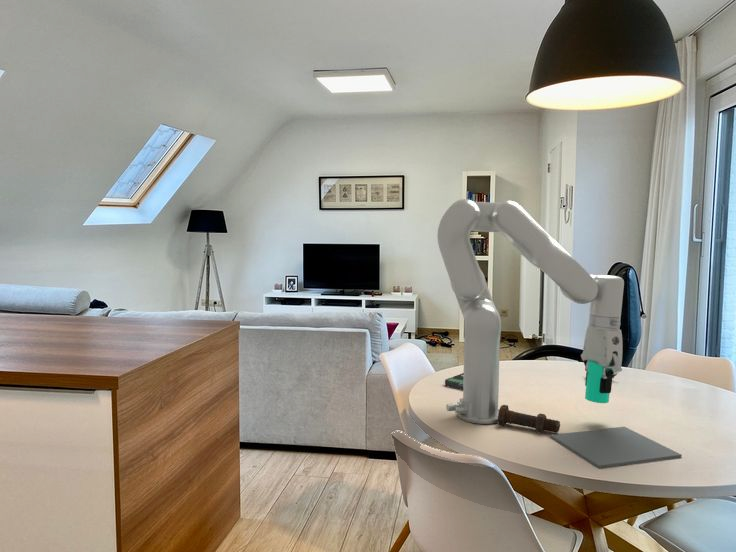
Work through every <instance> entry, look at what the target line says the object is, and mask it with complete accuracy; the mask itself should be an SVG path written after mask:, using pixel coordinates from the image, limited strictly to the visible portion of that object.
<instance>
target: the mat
mask: <svg viewBox="0 0 736 552" xmlns="http://www.w3.org/2000/svg"><path fill="white" fill-rule="evenodd" d="M549 436H550V438H551V439H553V440H554V441H556V442H557V443H558V444H560V445H562V446H564V447H565V448H566V449H568V450H570V451H571V452H573V453H574V454H576V455H577V456H579V457H581V458H582V459H584V460H586V461H587V462H588V463H590V464H592V465H594V466H595V467H596V468H597V469H604V468H605V469H606V468H612V467H618V466H626V465H632V464H641V463H649V462H656V461H663V460H670V459H678V458H682V456H683V455H682V454H681V453H679V452H677V451H676V450H673V449H671V448H669V447H667V446H664V445H663V444H661V443H659V442H657V441H655V440H653V439H650V438H649V437H646V436H645V435H642V434H641V433H638V432H636V431H634V430H632V429H630V428H628V427H625V426H617V427H609V428H599V429H591V430H583V431H582V430H580V431H574V432H565V433H554V434H550V435H549Z"/></svg>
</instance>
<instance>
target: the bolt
mask: <svg viewBox="0 0 736 552" xmlns="http://www.w3.org/2000/svg"><path fill="white" fill-rule="evenodd" d="M498 409H499V413H498V422H497V423H498V426H499V425H501V426H500V427H505V426H506V425H507V424H510V425H517V426H521V427H528V428H532V429H535V432H536V433H538V432H539V433H538V434H543V433H545V432H549V433H554V434H558V433H559V432H560V427H561V422H560V421H559V420H557V419H556V420H555V419H551V418H547V416H546V414H544V413H539V414H537V416H536V415H533V414H528V413H527V414H526V413H522V412H519V411H514V410H510V409H509V405H507V404H502V405H501V406H500V407H499V408H498ZM506 423H507V424H506Z"/></svg>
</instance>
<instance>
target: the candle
mask: <svg viewBox="0 0 736 552" xmlns="http://www.w3.org/2000/svg"><path fill="white" fill-rule="evenodd" d="M609 366H611V364H609ZM602 369H603V368H602V366H600V365H599V364H596V363H594V362H591V361H590V360H589V362H588V372H587V383H586V386H585V395H584V399H585V400H587V401H588V402H592V403H595V404H596V403H597V404H608V403H610V402H609V400H610V394H611V393H600V392H599V390H600V380H601V378H603V377H602ZM609 370H610V369H607V372H608V371H609Z"/></svg>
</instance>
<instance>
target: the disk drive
mask: <svg viewBox="0 0 736 552" xmlns="http://www.w3.org/2000/svg"><path fill="white" fill-rule="evenodd" d="M463 380H464V372H463V373H460V374H457V375H455V376H452V377H448V378H447V379H445V380H444V387H447V386H449V387H448V388H451V387H453V388H452V389H455V388H457V389H456V390H460V389H461V391H463Z"/></svg>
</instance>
